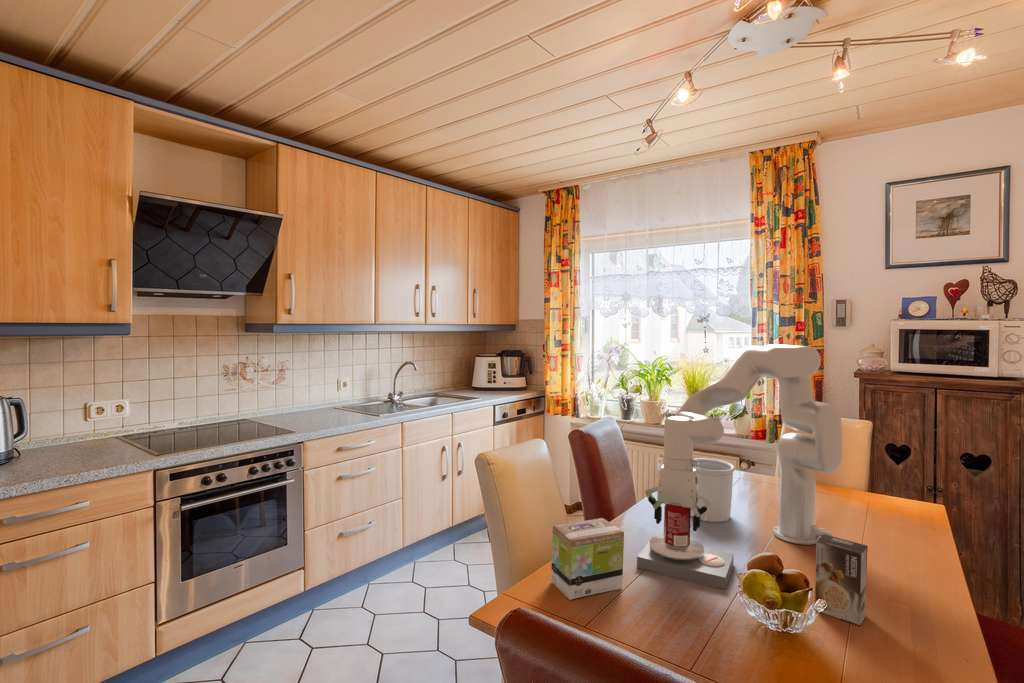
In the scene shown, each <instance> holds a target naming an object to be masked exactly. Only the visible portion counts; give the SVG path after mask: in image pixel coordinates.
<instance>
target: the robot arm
mask: <svg viewBox="0 0 1024 683" xmlns="http://www.w3.org/2000/svg"><path fill="white" fill-rule="evenodd" d="M821 359H822V358H821V355H820V353H819V351H818V350H817V349H815V348H814V347H811V346H809V345H797V344H795V345H793V344H782V343H772V344H766V345H764V346H763V345H749V346H746V347H744V348H742V349H741V350H740V352H738V354H736V356H735V358H734V359H733V360H732V362H731V363H730V364H729V365H728V366H727V368H726V369H725V371H724V372H723V373H722V374H721V375H720V377H719V378H718V379H717V380H716V381H715V382H712V383H711V384H709V385H707V386H705V387H703V388H702V389H700V390H698V391H696V392H695V393H694V394H692V395H691V396H690V397H688V398H687V399H686V401H684V403H683V404H682V406H681V407H680V408H679V409H678V411H677V412H676V414H675V415H672V416H668V417H666V418H665V420H664V424H663V425H664V426H663V428H664V429H663V430H664V431H663V432H664V433H663V435H664V436H663V464H662V465H661V466H660V470H659V476H658V481H657V485H655V486H651V487H649V488H646V489H645V490H644V493H645V495H646V497H647V501H648V502H649V503H650V504H651V506H652V507H653V510H654V512H653V515H654V516H653V517H654V520H655V524H657V525H659V524H660V523H661V521H663V520H662V517H663V516H662V514H663V513H662V512H663V507H662V506H661V505H662V504H663V505H665V504H667V505H668V504H669V503H673V504H678V505H682V507H684V508H690V509H691V510H692V511H693V513H694V516H693V517H692V531H693V532H697V530H698V529H699V528H700V527H701V520H700V515H702V514H703V513H704V512H706V511H707V509H708V507H709V506H710V504H711V503H712V501H711V500H710V499H709V498H707V497H706V496H704V495H703V494H701V493H700V492H698V479H697V472H696V469H695V468H693V467H695V466H697V467H698V466H699V462H698V461H694V445H714V444H716V443H718V442H719V441H721V440H722V438H723V436H724V435H725V429H724V425H723V423H722V422H721V421H720V420H719V419H718V418H716V417H712V416H711V415H710V416H709V415H705V414H707V413H709V412H710V411H712V410H714V409H717V408H720V407H723V406H728V405H734V404H737V403H739V402H742V401H744V400H745V399H746V397H748V395H749V393H750V392H751V391H752V389H753V388H754V387H755V385H756V384H757V383H758V381H759V380H760V379H761V378H764V377H765V378H771V379H777V382H778V384H779V385H778V386H779V392H780V393H779V394H780V395H779V396H780V409H781V410H780V411H781V415H780V416H781V420H782V423H783V425H784V426H785V427H787V428H788V429H792V430H795V431H799V432H803V433H807V434H803V433H799V432H788V433H785V434H782V436H780V438H779V439H778V441H777V447H776V449H777V456H778V460H779V472H780V474H779V475H780V476H779V479H780V480H779V503H778V504H779V505H778V506H779V507H778V525H775V526H774V527H773V528H772V534H773V535H774V536H775V537H776V538H778V539H780V540H782V541H785V542H788V543H791V544H794V545H795V544H797V545H804V546H805V545H806V546H807V545H808V546H811V545H816V542H817V541H818V540H819V538H820V537H821V536H822V535H824V534H825V535H829V536H833V532H832V531H829V530H828V529H827V528H824V527H823V528H822V527H819V526H816V521H815V516H816V515H815V514H816V490H817V488H816V487H817V485H816V484H817V483H816V482H817V481H816V477H815V475H814V472H813V471H815V472H820V473H823V474H833V473H836V472H837V471H838V470H839V468H840V467H841V465H842V461H843V433H842V432H843V430H842V428H843V427H842V419H841V415H840V413H839V411H838V409H837V408H836V407H835V406H834V405H832V404H830V403H828V402H822V401H816V400H815V399H814V396H813V386H812V385H813V384H812V381H811V378H810V376H813V375H814V374H816V372H818V371H819V369H820V368H821V367H820V366H821V362H822V360H821ZM808 434H812V435H808ZM656 492H657V494H656V496H657V499H656V498H655V497H654V495H653V493H656ZM698 499H700V500H701V501H703V502H704V506H703V507H701V508H699V506H698V505H697V504H696V503H698Z"/></svg>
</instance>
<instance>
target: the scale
mask: <svg viewBox="0 0 1024 683" xmlns="http://www.w3.org/2000/svg"><path fill="white" fill-rule="evenodd" d="M653 537H654V536H651V537H650V539H651V538H653ZM650 539H648V542H646V544H645V545H644V546H643V548H642V549H641V551H640V552H639V553H638V555H637V557H636V568H637V569H640V568H641V570H644V569H645V570H646V571H648V570H649V571H650V572H653V573H658V574H661V575H665V576H669V577H674V578H676V579H677V578H678V579H681V580H685V581H689V582H693V583H696V584H697V583H698V584H701V583H702V585H705V584H706V585H705V586H709V585H710V587H713V588H717V587H718V588H717V589H721V588H722V589H721V590H726V589H725V588H727V586H728V583H727V582H729V580H728V579H730V577H729V576H731V574H730V573H732V570H733V568H734V558H735V557H734V556H735V555H734V554H735V553H732V552H726V551H721V550H718V549H713V548H708V547H704V554H703V556H702V557H701V558H699V559H695V560H689V561H681V560H673V559H669V558H665V557H662V556H660V555H658V554H656V553H654V552H653V551H652V550H651V549H650ZM732 567H733V568H732ZM649 571H648V572H649ZM726 585H727V586H726Z"/></svg>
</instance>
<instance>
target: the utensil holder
mask: <svg viewBox="0 0 1024 683" xmlns="http://www.w3.org/2000/svg"><path fill="white" fill-rule="evenodd" d="M694 461H698V462H699V466H698V467H697V466H695V467H693V468H695V469H696V472H697V479H698V492H700V493H701V494H703V495H704V496H706V497H707V498H709V499H710V500H711V501H712V503H711V504H710V506H709V507H708V509H707V511H706V512H704V513H703V514H702V515H700V521H703V522H708V521H709V522H708V523H724V522H727V521H729V520H730V519H731V512H732V511H731V510H732V497H733V496H732V495H733V481H734V480H733V479H734V478H733V477H734V471H735V466H734V465H733V464H732V463H730V462H729V461H726V460H721V459H717V458H708V457H696V458H694ZM696 504H697V505H698V506H699V508H701V507H703V506H704V502H703V501H701V500H700V499H698V503H696ZM693 516H694V513H693V511H692V510H691V517H692V518H693ZM728 519H729V520H728ZM723 521H724V522H723Z"/></svg>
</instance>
